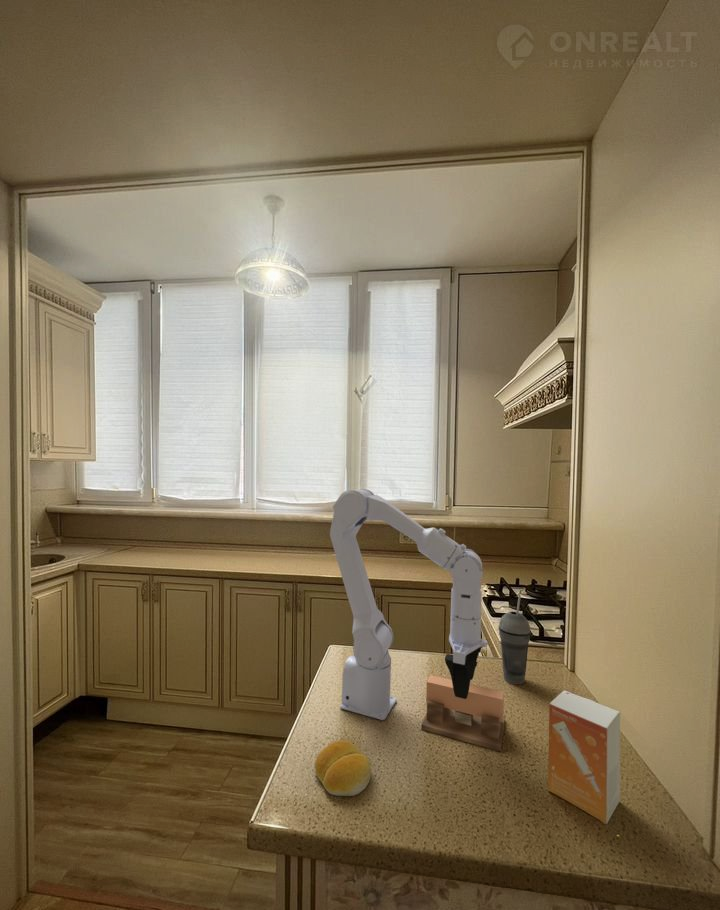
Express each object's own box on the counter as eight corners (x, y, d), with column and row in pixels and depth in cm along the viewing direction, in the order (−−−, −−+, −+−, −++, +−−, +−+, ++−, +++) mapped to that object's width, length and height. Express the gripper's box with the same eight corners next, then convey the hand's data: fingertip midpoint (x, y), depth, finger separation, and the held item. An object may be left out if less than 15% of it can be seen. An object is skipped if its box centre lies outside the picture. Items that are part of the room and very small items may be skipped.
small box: (547, 791, 61) (547, 702, 61) (563, 771, 65) (563, 688, 66) (607, 826, 55) (607, 727, 55) (621, 802, 59) (621, 710, 60)
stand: (421, 729, 75) (421, 707, 75) (433, 702, 84) (433, 682, 84) (500, 751, 69) (501, 727, 69) (504, 720, 78) (504, 699, 79)
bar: (426, 703, 78) (426, 681, 78) (429, 695, 81) (430, 675, 81) (502, 722, 73) (502, 699, 73) (503, 713, 75) (503, 691, 76)
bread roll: (335, 808, 57) (335, 779, 57) (307, 768, 64) (308, 742, 64) (382, 786, 61) (383, 758, 61) (352, 751, 68) (352, 726, 69)
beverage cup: (506, 669, 100) (507, 587, 101) (536, 681, 94) (536, 594, 95) (491, 678, 95) (493, 592, 96) (521, 691, 89) (522, 600, 90)
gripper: (483, 631, 69) (481, 712, 69) (491, 607, 83) (489, 675, 82) (442, 624, 72) (440, 702, 72) (456, 602, 86) (454, 667, 85)
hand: (464, 687), depth 77 cm, fingers open, 7 cm apart
